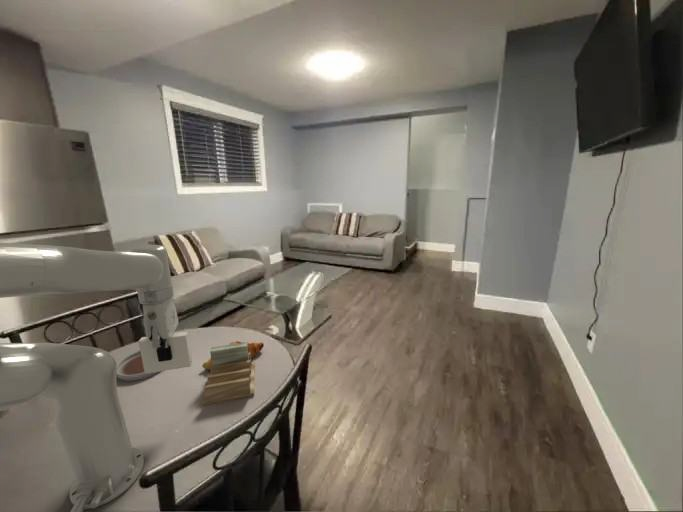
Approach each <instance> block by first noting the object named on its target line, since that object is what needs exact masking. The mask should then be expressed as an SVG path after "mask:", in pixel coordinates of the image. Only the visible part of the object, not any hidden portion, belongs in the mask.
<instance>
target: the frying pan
mask: <svg viewBox="0 0 683 512" xmlns="http://www.w3.org/2000/svg"><path fill="white" fill-rule="evenodd" d="M116 365H117V379H118V380H119V379H120V380H121V381H126V382H133V381H140V380H143V379H146V378H150V377H151V376H154V375H157V374H158V373H159V372H152V373H146V374H145V372H144V367H143V362H142V357H141V352H140V349H139V350H137V351H134V352H132V353H129V354H128V355H126V356H125V357H123V358H122V359H120V360H119V361H118V362H117V363H116Z"/></svg>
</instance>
